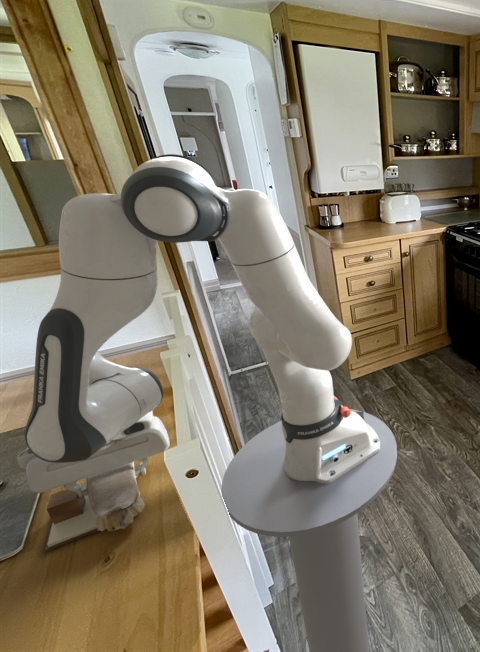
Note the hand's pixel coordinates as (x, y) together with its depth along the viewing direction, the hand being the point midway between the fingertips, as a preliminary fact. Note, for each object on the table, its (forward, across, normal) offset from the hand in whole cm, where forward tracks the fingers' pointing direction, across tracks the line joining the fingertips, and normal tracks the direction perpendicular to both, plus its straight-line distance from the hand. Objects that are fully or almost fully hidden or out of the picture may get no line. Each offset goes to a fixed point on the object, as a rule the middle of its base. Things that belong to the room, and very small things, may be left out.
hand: (114, 483), depth 77 cm
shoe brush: (+2, 0, 0) cm, 2 cm away
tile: (+4, -4, 0) cm, 6 cm away
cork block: (+3, -7, 0) cm, 8 cm away
